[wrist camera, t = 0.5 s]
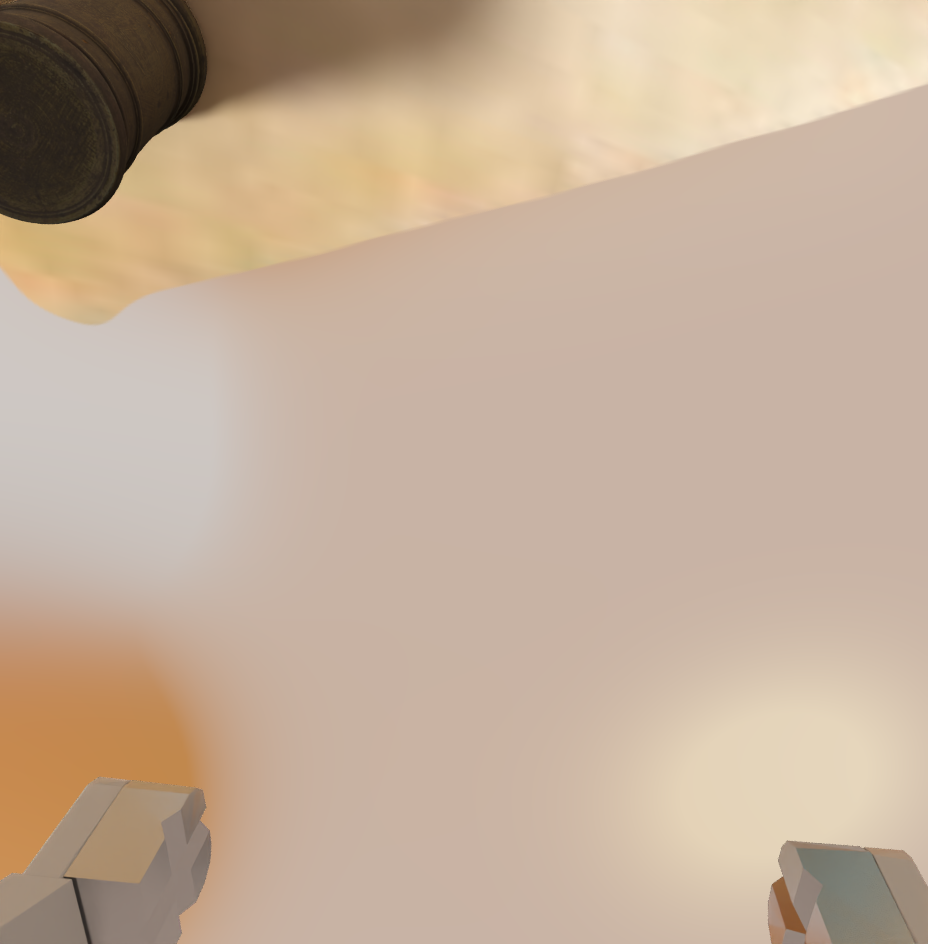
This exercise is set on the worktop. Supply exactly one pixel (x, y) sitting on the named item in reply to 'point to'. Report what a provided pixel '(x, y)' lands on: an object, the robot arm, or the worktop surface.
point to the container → (88, 97)
